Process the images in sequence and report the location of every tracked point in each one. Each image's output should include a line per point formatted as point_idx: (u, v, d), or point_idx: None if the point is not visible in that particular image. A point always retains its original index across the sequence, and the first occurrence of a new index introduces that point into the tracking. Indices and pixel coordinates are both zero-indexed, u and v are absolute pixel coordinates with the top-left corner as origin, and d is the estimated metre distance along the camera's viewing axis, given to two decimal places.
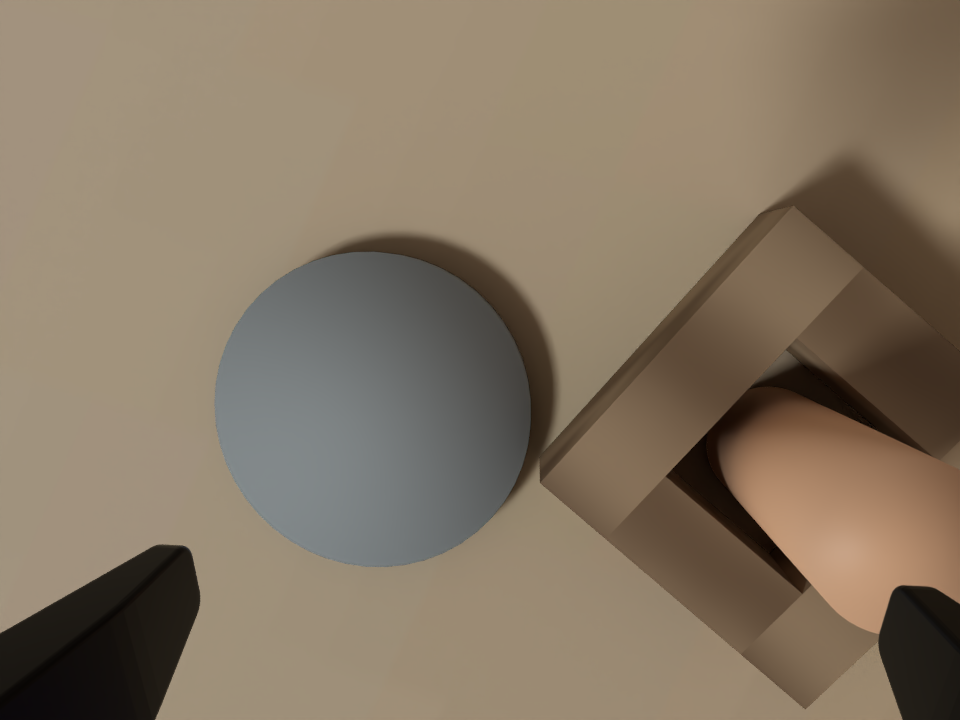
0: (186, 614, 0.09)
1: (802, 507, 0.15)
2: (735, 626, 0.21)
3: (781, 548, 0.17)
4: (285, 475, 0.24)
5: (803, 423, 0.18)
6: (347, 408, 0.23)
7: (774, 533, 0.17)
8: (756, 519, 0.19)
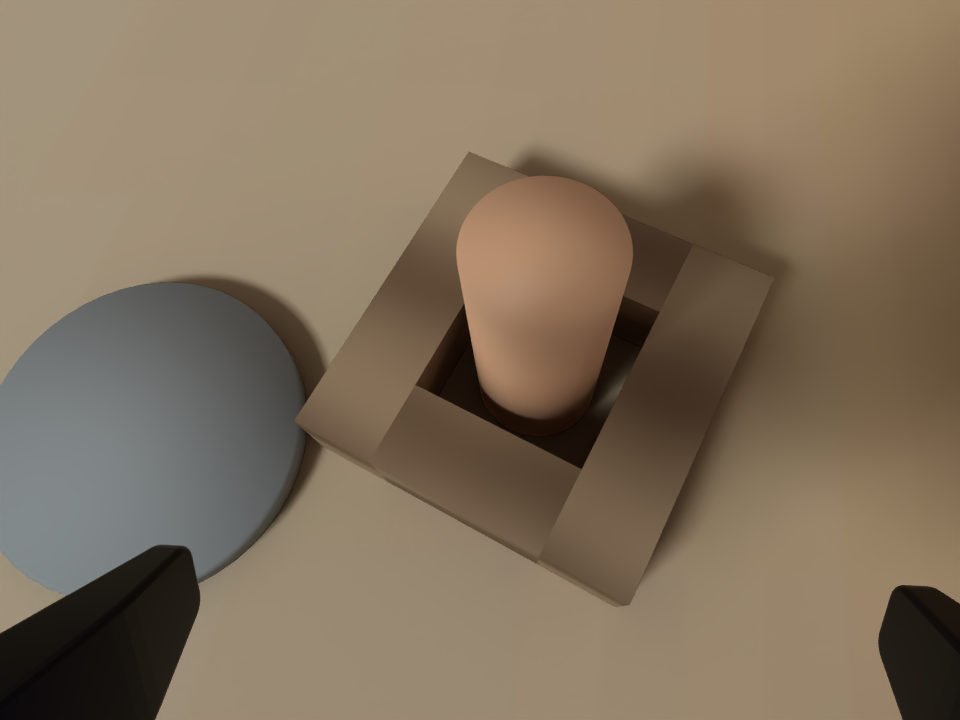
0: (186, 614, 0.09)
1: None
2: (524, 523, 0.19)
3: (486, 347, 0.17)
4: (46, 513, 0.22)
5: None
6: (115, 427, 0.23)
7: (476, 336, 0.18)
8: (487, 369, 0.19)
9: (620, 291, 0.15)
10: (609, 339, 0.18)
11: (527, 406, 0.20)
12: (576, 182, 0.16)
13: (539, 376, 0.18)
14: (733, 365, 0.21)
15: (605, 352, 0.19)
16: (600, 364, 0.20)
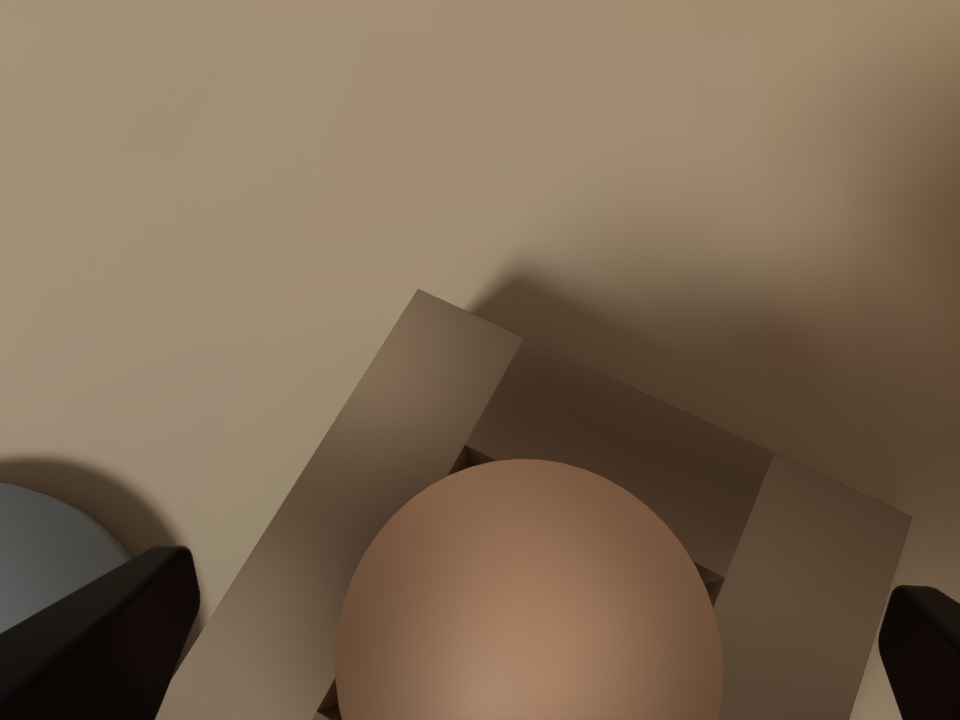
0: (186, 614, 0.09)
1: None
2: None
3: None
4: None
5: None
6: None
7: None
8: None
9: None
10: None
11: None
12: (594, 477, 0.08)
13: None
14: (855, 685, 0.12)
15: None
16: None
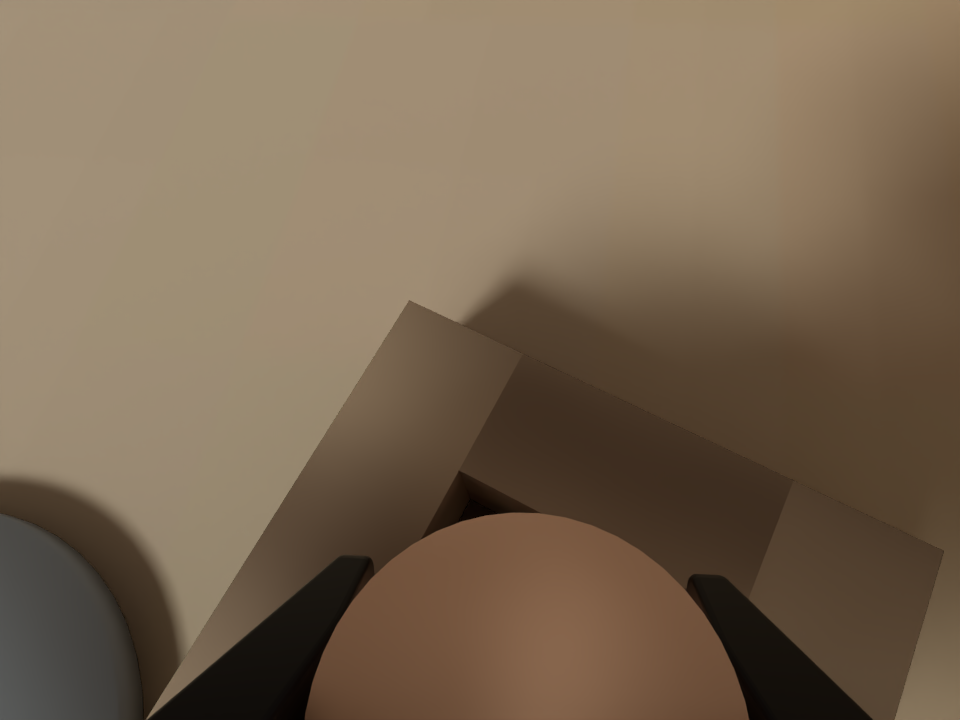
0: None
1: None
2: None
3: None
4: None
5: None
6: None
7: None
8: None
9: None
10: None
11: None
12: (603, 535, 0.07)
13: None
14: None
15: None
16: None
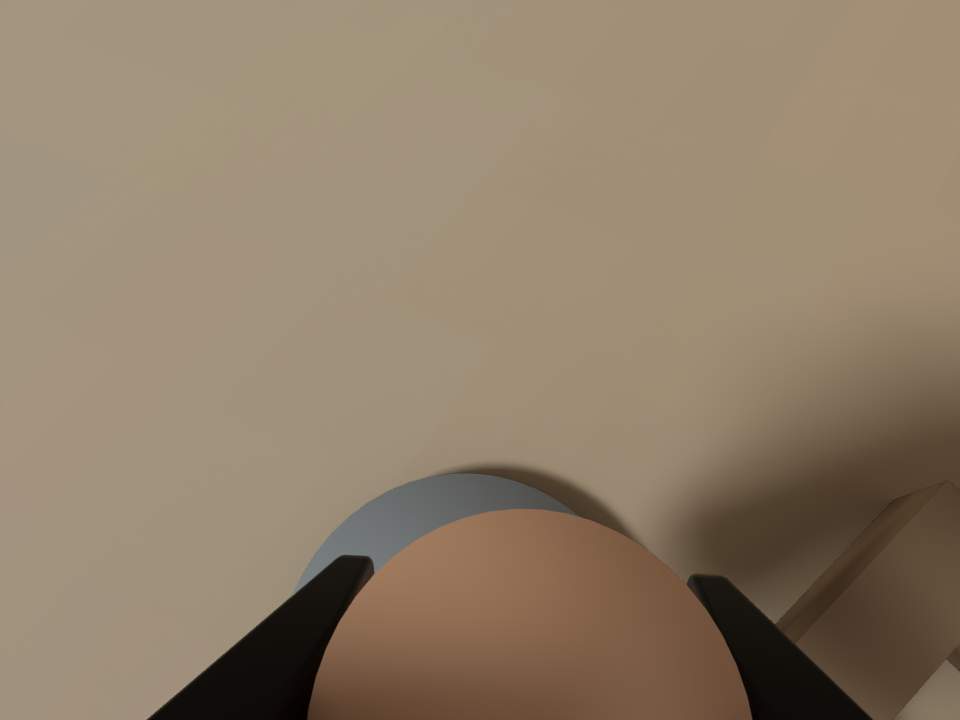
0: None
1: None
2: None
3: None
4: None
5: None
6: None
7: None
8: None
9: None
10: None
11: None
12: (605, 531, 0.07)
13: None
14: None
15: None
16: None
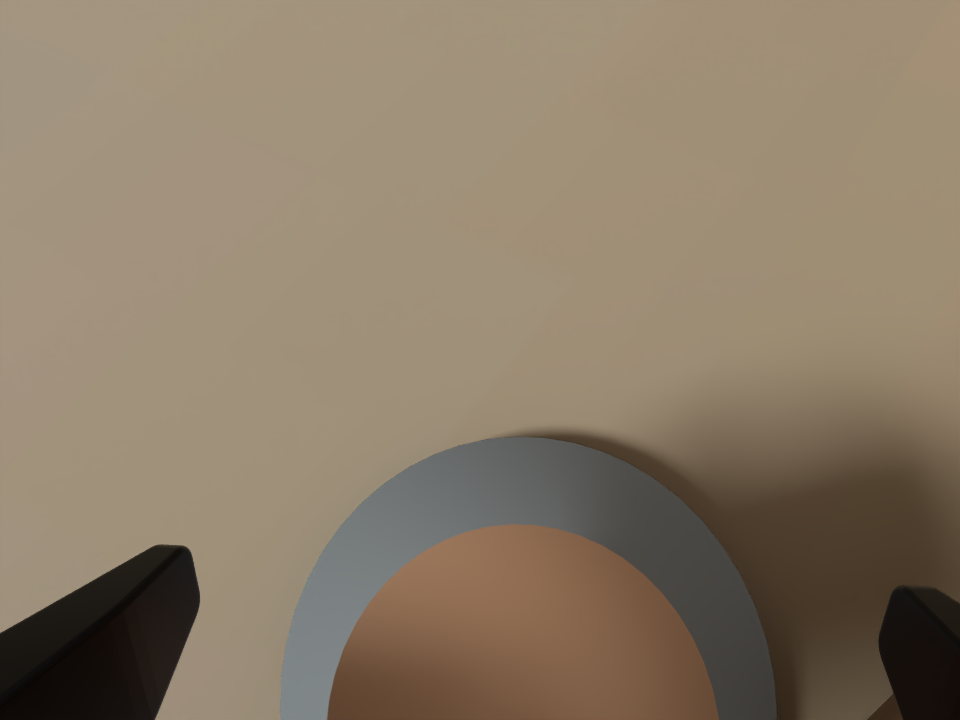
0: (186, 614, 0.09)
1: None
2: None
3: None
4: None
5: None
6: None
7: None
8: None
9: None
10: None
11: None
12: (590, 544, 0.08)
13: None
14: None
15: None
16: None
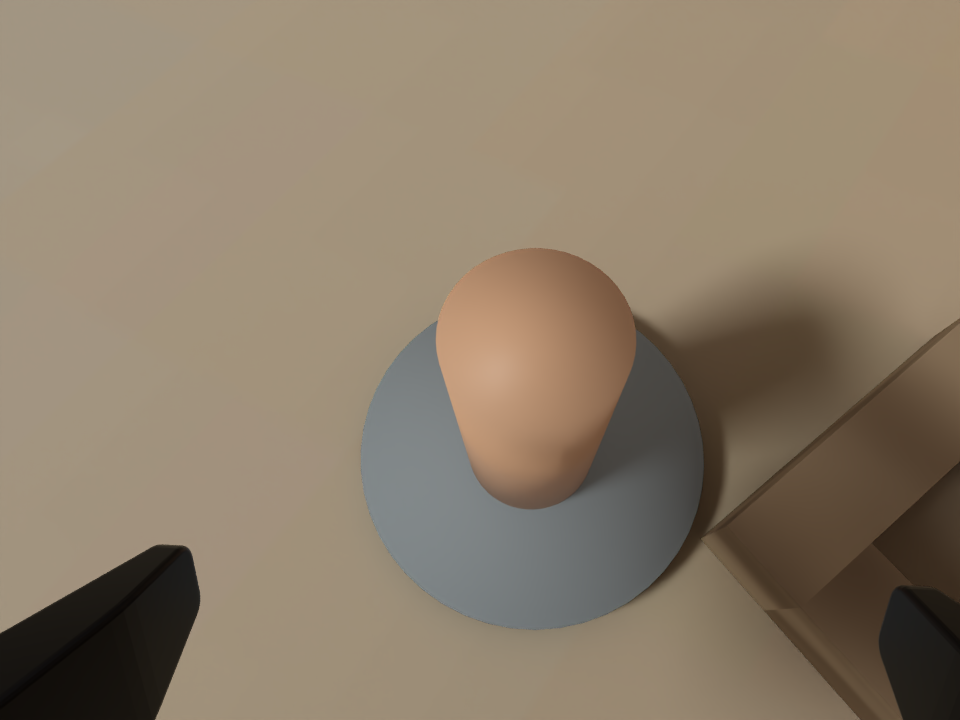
0: (186, 614, 0.09)
1: None
2: None
3: (471, 435, 0.16)
4: (421, 496, 0.22)
5: None
6: None
7: (460, 422, 0.16)
8: (474, 452, 0.17)
9: (622, 386, 0.13)
10: None
11: (519, 488, 0.18)
12: (572, 256, 0.14)
13: (531, 467, 0.16)
14: None
15: None
16: (599, 444, 0.18)
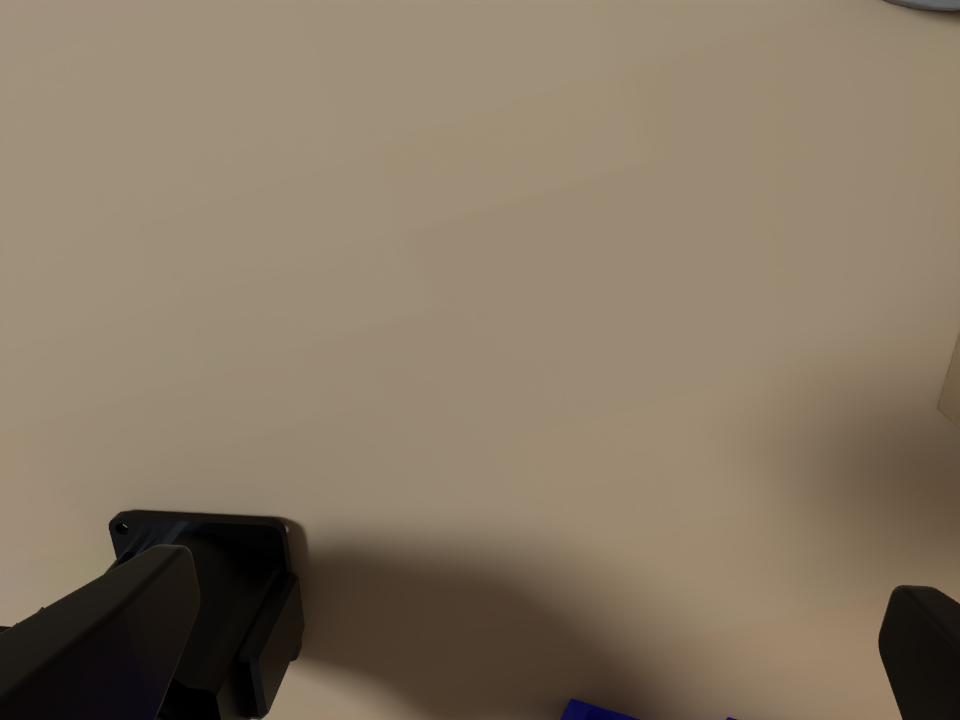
0: (186, 614, 0.09)
1: None
2: None
3: None
4: None
5: None
6: None
7: None
8: None
9: None
10: None
11: None
12: None
13: None
14: None
15: None
16: None
